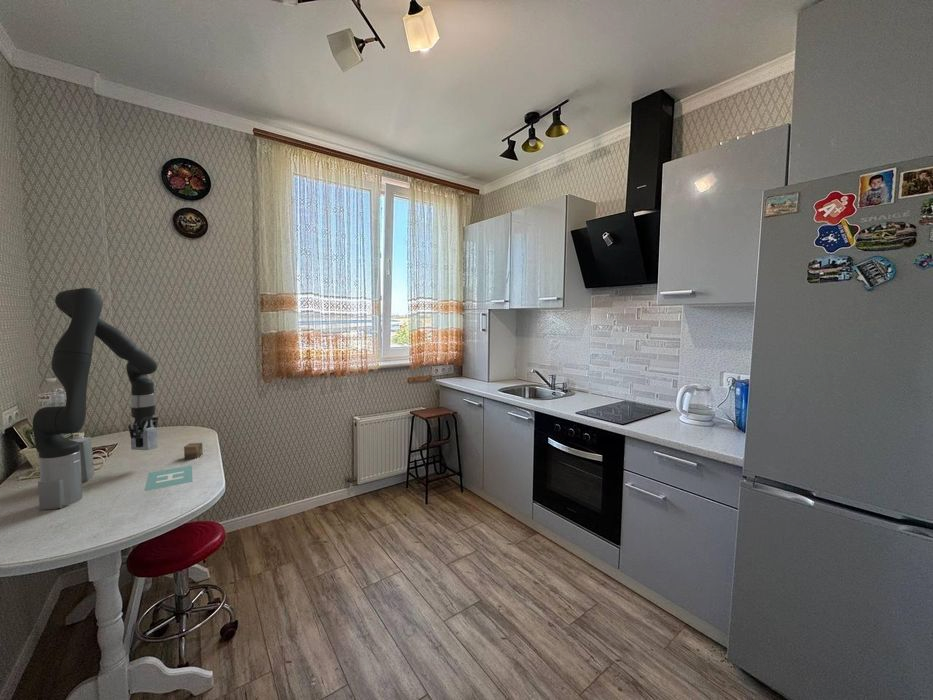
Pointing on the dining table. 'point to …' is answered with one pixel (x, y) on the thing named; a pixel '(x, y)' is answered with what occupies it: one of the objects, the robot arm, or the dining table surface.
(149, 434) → the medicine box
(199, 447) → the walnut block
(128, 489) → the dining table surface
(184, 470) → the letter card
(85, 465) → the skincare box
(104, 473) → the dining table surface
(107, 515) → the dining table surface
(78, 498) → the robot arm
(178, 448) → the dining table surface
